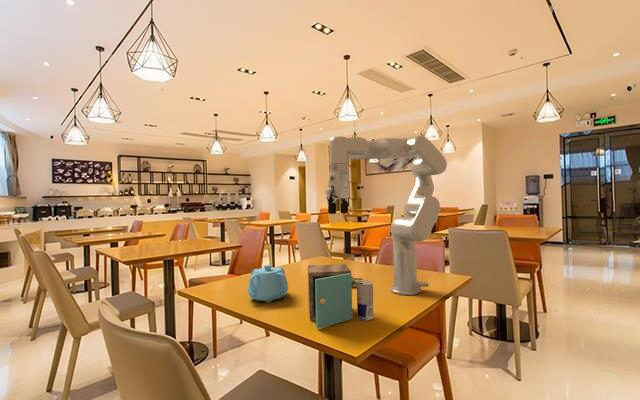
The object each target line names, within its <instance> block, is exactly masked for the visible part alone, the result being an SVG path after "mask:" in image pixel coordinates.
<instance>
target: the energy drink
mask: <svg viewBox="0 0 640 400" xmlns="http://www.w3.org/2000/svg"><path fill="white" fill-rule="evenodd" d="M356 310H357V312H356V313H357V319H358V320H360V321H363V322H366V321H367V322H368V321H372V320H374V284H373V282H372V281H371V280H360V281H359V282H357V287H356Z"/></svg>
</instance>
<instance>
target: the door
mask: <svg viewBox="0 0 640 400" xmlns="http://www.w3.org/2000/svg"><path fill="white" fill-rule="evenodd" d="M352 277H353V274H352V272H351V273H347V274H342V275H336V276H331V277H326V278H320V279H315V299H316V320H315V328H316V329H317V330H319V329H322V328H326V327H328V326H331V325H335V324H339V323H343V322H347V321H349V320H353V288H352V286H353V284H352Z"/></svg>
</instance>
